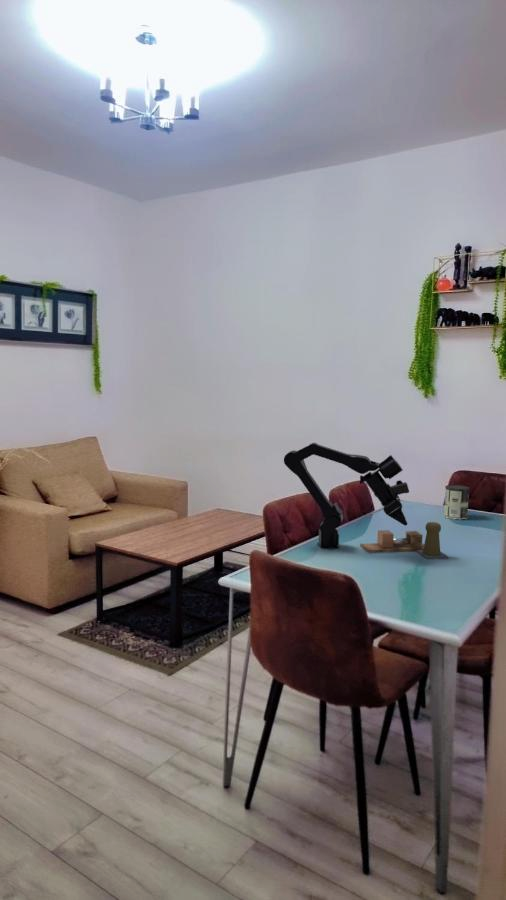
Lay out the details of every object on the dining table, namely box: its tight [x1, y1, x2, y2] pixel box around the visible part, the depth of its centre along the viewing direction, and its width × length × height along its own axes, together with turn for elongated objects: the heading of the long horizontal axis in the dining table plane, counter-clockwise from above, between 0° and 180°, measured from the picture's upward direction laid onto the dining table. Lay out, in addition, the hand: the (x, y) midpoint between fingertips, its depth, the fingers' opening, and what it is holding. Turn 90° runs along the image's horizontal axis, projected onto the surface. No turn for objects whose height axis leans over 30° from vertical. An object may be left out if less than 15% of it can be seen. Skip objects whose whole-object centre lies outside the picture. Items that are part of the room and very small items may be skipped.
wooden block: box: [376, 529, 407, 548], centre depth 215 cm, size 10×5×5 cm, turn 99°
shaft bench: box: [359, 530, 425, 554], centre depth 215 cm, size 24×8×6 cm, turn 99°
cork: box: [423, 521, 442, 556], centre depth 208 cm, size 6×6×11 cm
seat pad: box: [416, 550, 449, 560], centre depth 208 cm, size 8×8×1 cm
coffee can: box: [443, 484, 470, 521], centre depth 267 cm, size 10×10×14 cm
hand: (405, 522), depth 209 cm, fingers open, 9 cm apart
